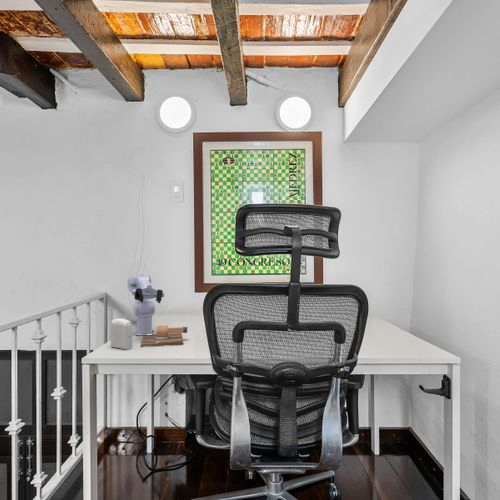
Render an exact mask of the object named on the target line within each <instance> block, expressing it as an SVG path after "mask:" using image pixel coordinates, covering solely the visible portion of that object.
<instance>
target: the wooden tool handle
mask: <svg viewBox="0 0 500 500" xmlns="http://www.w3.org/2000/svg"><path fill="white" fill-rule="evenodd" d="M175 333H182V334H187V333H188V326H180V327H179V326H177V327H175V326H174V327H169V326H168V325H158V326H156V334H157V336H158V337H165V336H168V334H175Z"/></svg>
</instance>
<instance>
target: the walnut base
mask: <svg viewBox="0 0 500 500" xmlns="http://www.w3.org/2000/svg"><path fill="white" fill-rule="evenodd" d="M183 339H184V338H183V333H172V334H168V336H165V337H158V336H157V333H156V334H153V335H142V339H141V342H140V348H144V346H151V347H165V346H164V345H169V346H183V345H184V340H183Z"/></svg>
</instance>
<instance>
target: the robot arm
mask: <svg viewBox="0 0 500 500" xmlns="http://www.w3.org/2000/svg"><path fill="white" fill-rule="evenodd" d="M127 289H128V291H129V293H131V296H133V297H134V300H135V302H133V314H134V316H135V317H136V333H135V336H136V335H138V336H143V335H147V334H153V333H154V331H153V332H152V330H153V316H154V315H155V313H156V304H155V302H154V301H151V299H152V300H153V299H155V301H156V302H157V303H158V304H161V301H162V298H164V297H165V291H163V290H162V289H156V288H154V287H153V285H152V277H151V276H150V275H148V276H145V275H144V274H139V275H134V276H133V275H132V276H128V277H127ZM153 335H154V334H153Z"/></svg>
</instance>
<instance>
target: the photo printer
mask: <svg viewBox="0 0 500 500" xmlns="http://www.w3.org/2000/svg"><path fill="white" fill-rule="evenodd" d="M110 347H112V348H117V349H121V350H131V349H132V347H133V323H132V322H131V321H130V320H128V319H125V318H115V319H112V320H111V323H110Z"/></svg>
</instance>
